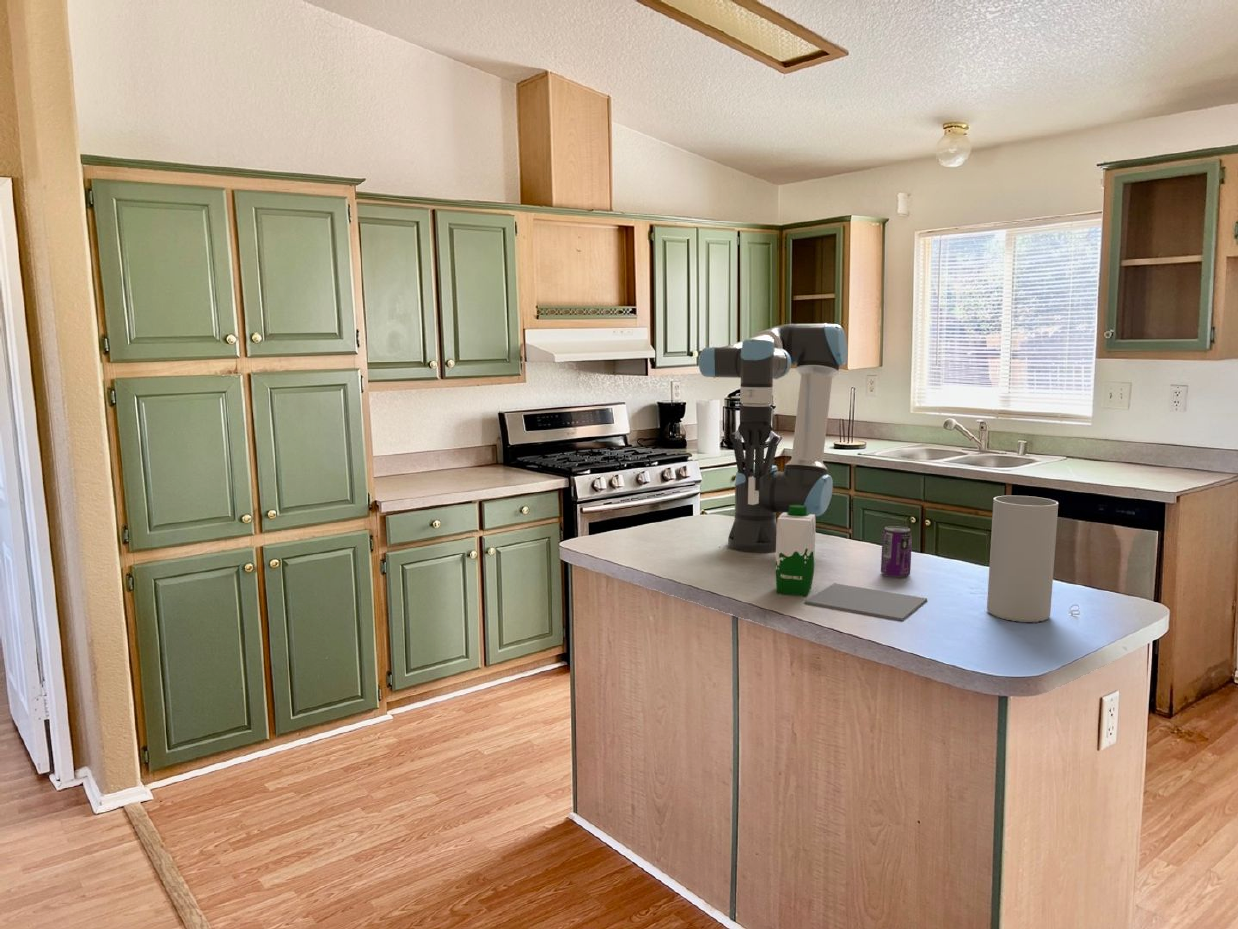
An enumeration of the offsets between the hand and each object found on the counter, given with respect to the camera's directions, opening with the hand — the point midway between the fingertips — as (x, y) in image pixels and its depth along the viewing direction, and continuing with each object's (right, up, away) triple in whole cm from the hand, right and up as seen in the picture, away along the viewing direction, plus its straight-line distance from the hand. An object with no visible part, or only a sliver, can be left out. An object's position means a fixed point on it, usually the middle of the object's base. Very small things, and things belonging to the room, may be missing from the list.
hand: (753, 503), depth 214 cm
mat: (+24, -22, -12) cm, 34 cm away
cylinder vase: (+54, -23, -21) cm, 62 cm away
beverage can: (+37, -19, +11) cm, 43 cm away
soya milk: (+9, -21, -3) cm, 23 cm away
